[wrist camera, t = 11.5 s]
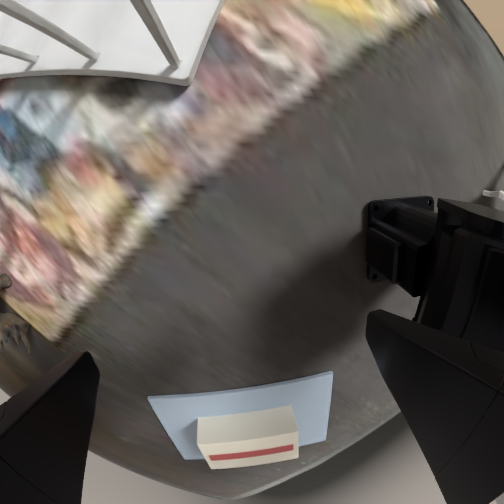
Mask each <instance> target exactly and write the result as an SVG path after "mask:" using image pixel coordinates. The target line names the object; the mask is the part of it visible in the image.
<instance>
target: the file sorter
mask: <svg viewBox="0 0 504 504" xmlns="http://www.w3.org/2000/svg"><path fill="white" fill-rule="evenodd" d="M224 2H225V0H0V79H5V78H14V77H25V76H43V75H93V76H111V77H124V78H134V79H142V80H149V81H156V82H163V83H169V84H175V85H181V86H189V85H190V84H191V83H192V81H193V79H194V76H195V73H196V70H197V67H198V65H199V62H200V59H201V57H202V54H203V51H204V49H205V46H206V44H207V41H208V39H209V36H210V34H211V31H212V29H213V27H214V24H215V22H216V20H217V17H218V15H219V13H220V10H221V8H222V6H223V4H224Z"/></svg>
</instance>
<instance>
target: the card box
mask: <svg viewBox="0 0 504 504" xmlns="http://www.w3.org/2000/svg"><path fill="white" fill-rule="evenodd" d="M197 445H198V447H199V449H200V451H201V453H202V454H203V456H204V458H205V459H206V461H207V463H208V465H209V466H210V468H211V469H224V468H236V467H245V466H253V465H260V464H267V463H273V462H279V461H285V460H290V459H295V458H298V428H297V425H296V421H295V418H294V414H293V411H292V407H291V405H289V406H284V407H278V408H273V409H267V410H261V411H254V412H247V413H240V414H232V415H223V416H212V417H200V418H198V426H197Z"/></svg>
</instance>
